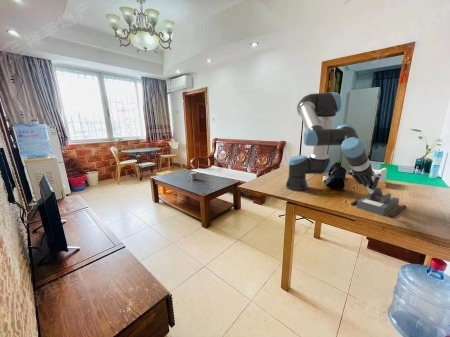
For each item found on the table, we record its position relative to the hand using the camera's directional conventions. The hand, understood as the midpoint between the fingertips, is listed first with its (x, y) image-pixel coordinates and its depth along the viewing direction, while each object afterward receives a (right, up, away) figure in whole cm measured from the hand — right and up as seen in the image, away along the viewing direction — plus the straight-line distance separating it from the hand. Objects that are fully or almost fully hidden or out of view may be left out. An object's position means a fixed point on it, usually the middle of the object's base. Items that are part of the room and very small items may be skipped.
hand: (371, 191), depth 97 cm
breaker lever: (+10, -4, +7) cm, 13 cm away
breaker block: (+9, -9, +8) cm, 16 cm away
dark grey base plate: (+9, -9, +8) cm, 16 cm away
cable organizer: (+35, 0, +43) cm, 55 cm away
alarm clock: (+15, +3, +59) cm, 61 cm away
